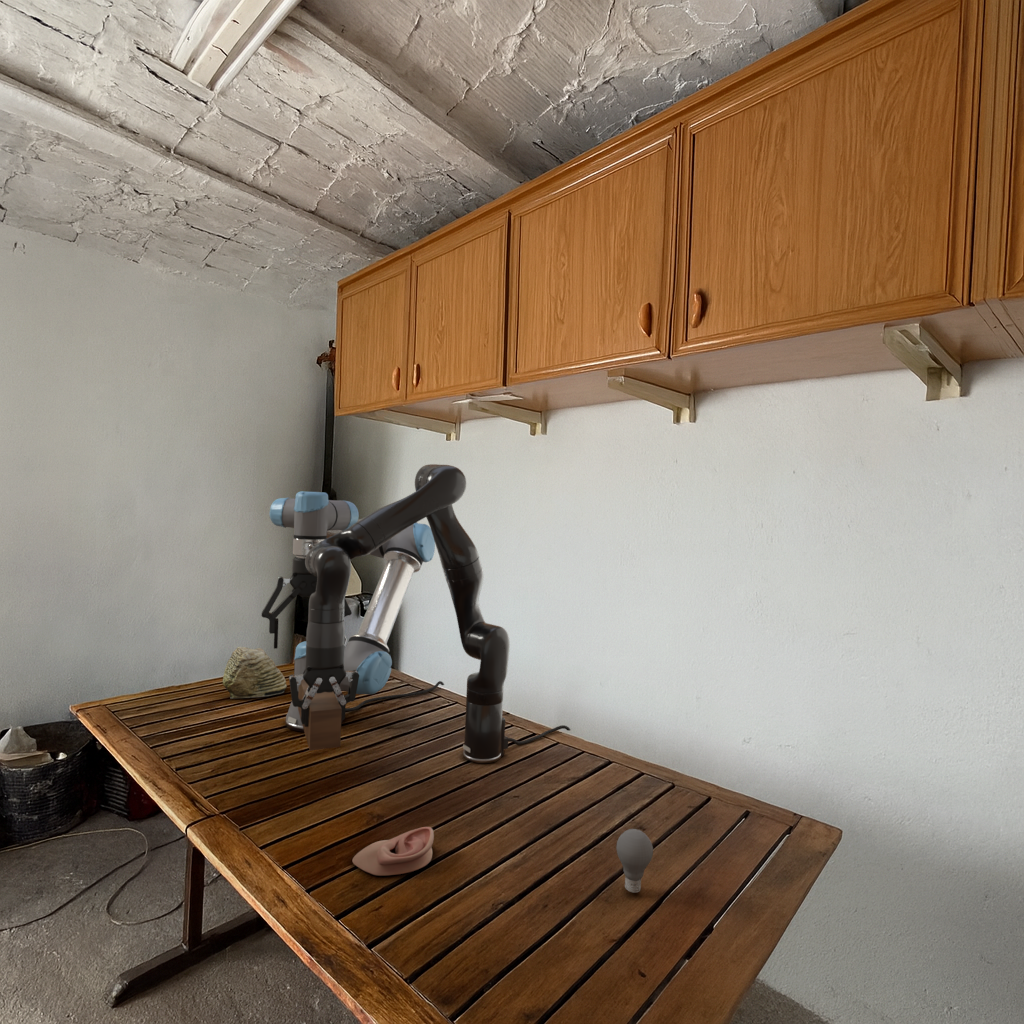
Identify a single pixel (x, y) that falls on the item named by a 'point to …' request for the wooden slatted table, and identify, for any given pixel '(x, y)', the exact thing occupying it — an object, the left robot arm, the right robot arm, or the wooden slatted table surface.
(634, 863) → the light bulb
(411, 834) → the anatomical model
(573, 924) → the wooden slatted table surface
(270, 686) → the fossil
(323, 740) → the bar
